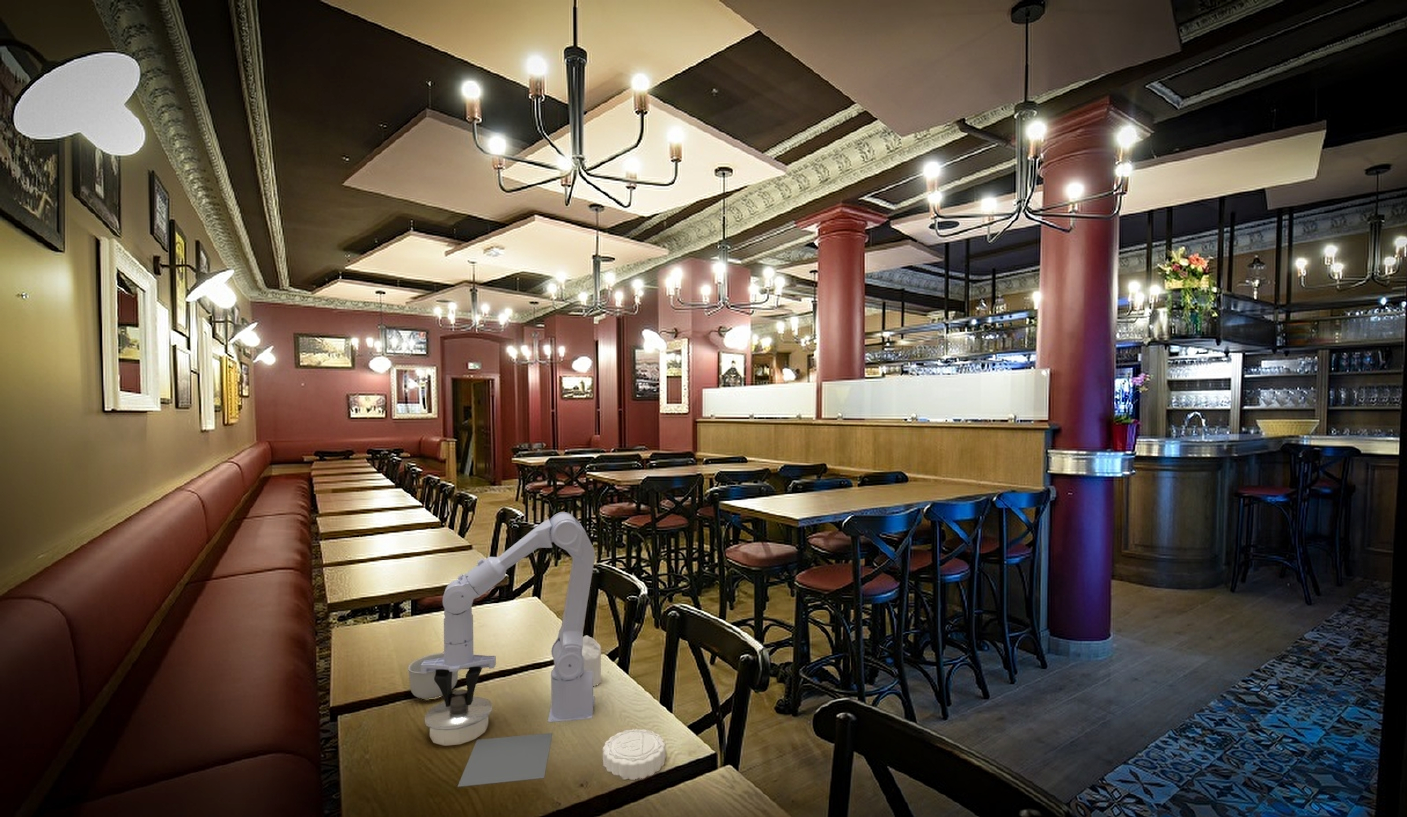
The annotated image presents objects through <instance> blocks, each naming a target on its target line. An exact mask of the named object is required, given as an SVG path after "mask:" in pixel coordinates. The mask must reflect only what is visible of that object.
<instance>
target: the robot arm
mask: <svg viewBox="0 0 1407 817" xmlns="http://www.w3.org/2000/svg"><path fill="white" fill-rule="evenodd" d="M552 543H554V544H555V545H556V546H557V547H559V548H561V549H563V550H565V551H566V552H567V553H568V554H569V555H570V557H571V558H572V561H571V566H570V572H569V579H568V586H567V590H566V591H567V592H566V597H565V603H564V609H563V614H562V620H561V627H560V629H559V630H558V635H557V638H556V640H555V641H554V643H553V645H552V647H551V650H550V652H551V656H552V659H553V666H554V667H553V668H552V669H551V671H550V681H551V682H550V689H551V690H550V692H551V693H550V694H551V696H550V697H551V698H550V699H551V701H550V702H551V703H550V704H551V705H550V709H549V714H548V718H547V722H548V723H558V722H568V721H578V720H580V721H581V720H589V719H593V716H594V706H595V705H596V704H595V703H596V702H595V701H596V697H595V696H596V695H594V693H595V692H594V687H593V671H588V670H584V658H583V656H582V648H583V637H584V636H583V635H584V633H583V631H584V626H585V620H586V614H587V607H588V600H589V595H590V589H591V588H590V587H591V584H592V577H593V571H594V565H595V558H596V551H595V548H594V546H593V545H592V542H591V540H590V538H589V536H588V535H587V532H586V530H585V528H584V527H583V526H582V524H581V522H579V521H578V519H577V518H575V517H574V515H572V514H571V513H569V512H564V511H562V512H561V511H560V512H558V513H556V514H554V515H553V516H552V517H551V518H548V519H545V520H544V521H543V522H541V523H540V524H539V525H537V526H536V527H534V528H533V529H532V530H530V531H529V532H528V533H526V535H524V536H523V537H521V539H519V540H518V541H517V542H516V543H513V545H512V546H511V547H509V548H508V549H507V550H505V551H504V552H503V553H501V555H499V556H488V557H486V558H485V559H484V557H481V559H479V560H478V561H477V565H475V566H474V567H473V568H472V569H470V570H469V571H467V573H465V574H463V573H461V574H459V575H458V576H457V579H454V580H453V581H451V582H449V583H448V584H447V586H445V590H444V593H443V596H442V606H443V608H444V610H443V615H444V617H443V651H444V658H439V659H433V660H426V661H423V663H422V664H421V674H425V673H427V672H433V671H436V674H435V677H434V680H435V682H436V683H437V685H438V686H439V688H440V690H441V692H442V695H443V697H442V698H443V702H445V705H446V707H449V706H450V694H451V693H452V692H453V690H452V689H453V688H452V672H453V671H458V672H459V671H461V670H467V671H466V674H465V681H466V690H467V705H471V703H472V701H473V697H474V695H475V694H474V693H475V690H476V686H477V682H478V679H479V677H480V674H481V671H482V670H483V669H485V668H488V669H489V670H491V669H495V667H496V664H497V663H496V662H497V660H496V659H497V655H485V654H484V655H482V654H481V655H480V654H474V615H473V613H472V612H473V610H472V609H473V608H472V606H473V603H474V600H475V599H478V598H480V597H482V595H484V594H485V593H487V592H489V591H490V590H491V589H492V588H494V587H495V586H496V585H497V584H498V583H500V582H501V581H503V580H504V579H505V578H506V573H507V570H508V569H509V568H511V567H513V566H514V565H515V564H517V563H519V561H521V560H523V559H524V558H526V557H527V556H529V555H530V554H531V553H533V552H534V551H536V550H537V549H542V548H543V549H544V548H546V549H547V548H548V549H550V548H551V549H552V548H553V544H552Z"/></svg>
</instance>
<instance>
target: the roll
mask: <svg viewBox="0 0 1407 817" xmlns="http://www.w3.org/2000/svg"><path fill="white" fill-rule="evenodd" d="M582 656H583V658H584V670H588V671H593V686H594V687H596V686H595V685H597V684H599V683H600V682H601V683H602V646H601V644H599V642H597V640H596V639H594V638H593V637H592V636H591V637H590V636H589V635H584V636H583V648H582ZM601 683H600V684H601ZM600 684H599V685H600ZM597 686H598V685H597Z"/></svg>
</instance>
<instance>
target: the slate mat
mask: <svg viewBox="0 0 1407 817" xmlns="http://www.w3.org/2000/svg"><path fill="white" fill-rule="evenodd" d="M553 735H554V734H553V732H549V733H548V732H546V733H536V734H525V735H524V734H523V735H514V736H503V737H493V738H483V739H482V738H480V739H477V740H476V741H475V744H474V746H473V748H472V751H471V753H470V754H469V757H468V758H469V759H468V761H467V763H466V765H465V768H464V770H463V772H462V775H461V778H460V779H459V782H458V785H457V788H462V787H473V786H480V785H491V784H492V785H493V784H501V783H511V782H518V781H519V782H521V781H522V782H523V781H530V780H539V779H545V774H546V769H547V764H548V758H549V755H550V749H551V742H552V739H553Z"/></svg>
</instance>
